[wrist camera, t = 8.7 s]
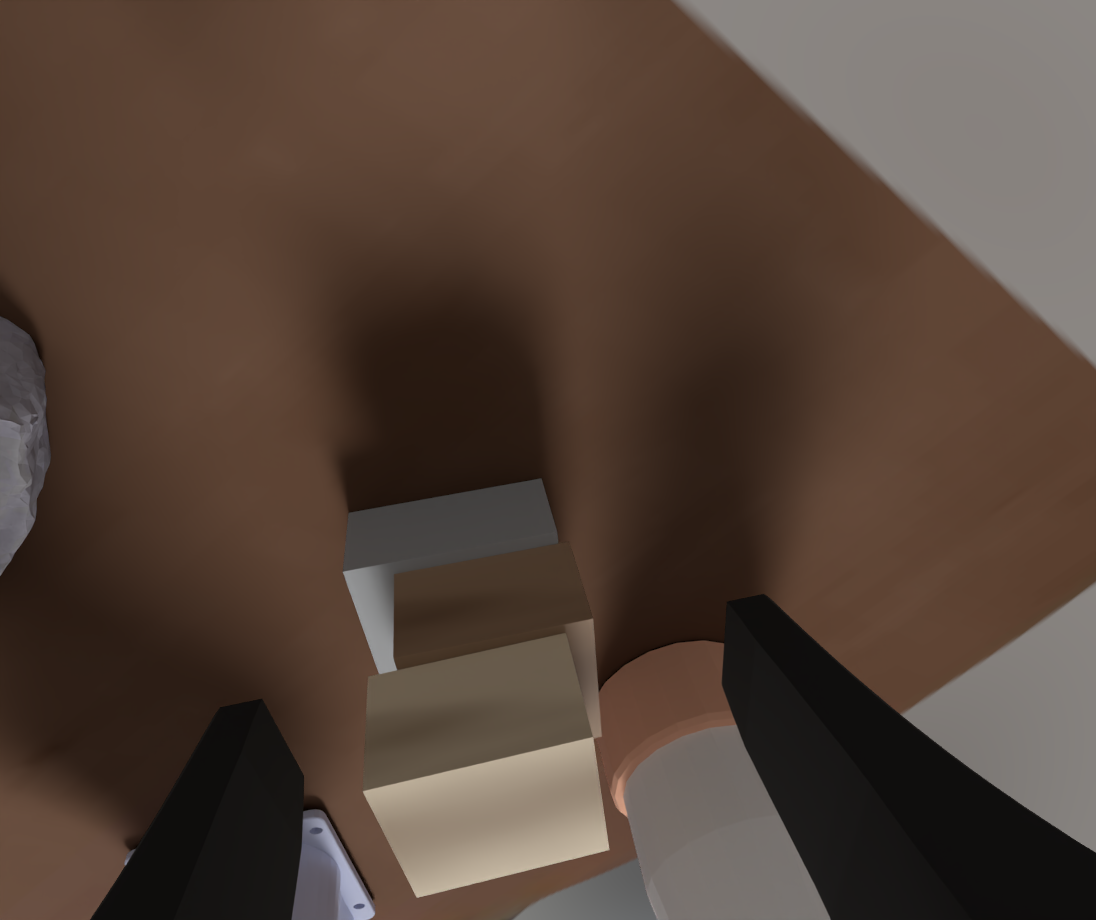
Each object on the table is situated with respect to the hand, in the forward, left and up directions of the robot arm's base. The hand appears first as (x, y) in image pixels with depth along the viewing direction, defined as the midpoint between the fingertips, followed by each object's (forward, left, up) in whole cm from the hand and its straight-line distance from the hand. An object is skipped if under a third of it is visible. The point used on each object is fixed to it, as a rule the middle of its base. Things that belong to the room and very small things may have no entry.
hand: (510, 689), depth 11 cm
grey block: (-7, +1, -11) cm, 13 cm away
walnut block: (-7, 0, -8) cm, 10 cm away
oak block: (-7, +1, -5) cm, 9 cm away
